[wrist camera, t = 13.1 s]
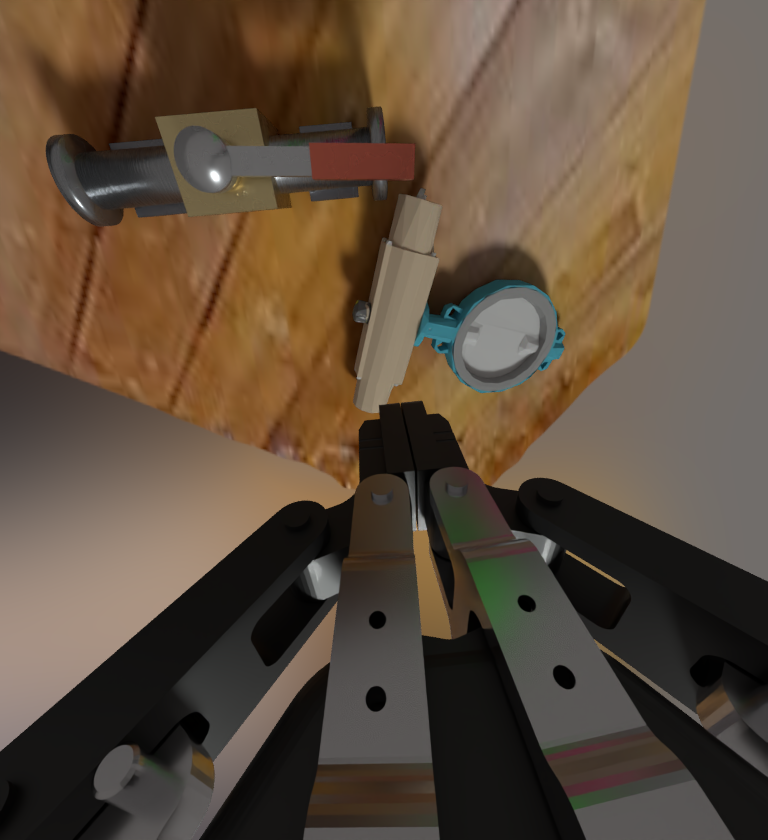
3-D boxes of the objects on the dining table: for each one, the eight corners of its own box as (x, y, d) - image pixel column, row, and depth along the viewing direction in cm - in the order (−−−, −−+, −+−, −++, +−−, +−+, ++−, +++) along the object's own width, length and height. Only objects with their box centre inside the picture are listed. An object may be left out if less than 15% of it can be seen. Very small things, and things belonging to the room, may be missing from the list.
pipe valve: (127, 224, 37) (61, 229, 29) (93, 143, 34) (5, 122, 25) (382, 200, 38) (391, 198, 30) (377, 118, 34) (385, 89, 26)
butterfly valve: (590, 247, 45) (374, 176, 36) (630, 255, 39) (386, 173, 31) (504, 415, 59) (331, 392, 50) (525, 439, 53) (335, 417, 44)
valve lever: (193, 193, 28) (183, 192, 26) (177, 130, 26) (165, 125, 24) (409, 193, 29) (413, 192, 27) (411, 132, 27) (415, 128, 25)
